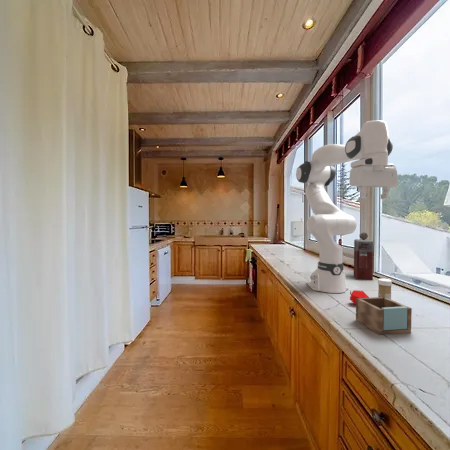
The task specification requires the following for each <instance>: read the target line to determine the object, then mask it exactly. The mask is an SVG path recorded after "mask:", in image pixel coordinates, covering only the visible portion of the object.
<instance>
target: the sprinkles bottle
mask: <svg viewBox="0 0 450 450" xmlns="http://www.w3.org/2000/svg"><path fill="white" fill-rule="evenodd" d="M392 283H393V282H392V280H391V279H388V278H378V279H377V284H378V291H377V297H386V298H388V299H391V300H392V286H393V284H392Z"/></svg>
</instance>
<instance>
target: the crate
mask: <svg viewBox="0 0 450 450" xmlns="http://www.w3.org/2000/svg"><path fill="white" fill-rule="evenodd" d="M402 306H405V307H407V308H408V309H407V329H397V330H383V310H382V309H381V308H384V307H402ZM412 310H413V309H412V308H411V307H410V306H407V305H405V304H402V303H400V302H397V301H395V300H393V299H392V298H391V299H388V298H386V297H378V296H376V297H369V298H356V305H355V321H357V322H358V323H360V324H362V325H363V326H365V327H367V328H368V329H370V330H371V331H373V332H374V333H376V334H377V335H393V334H394V335H395V334H408V333H409V334H411V333H412Z"/></svg>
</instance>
